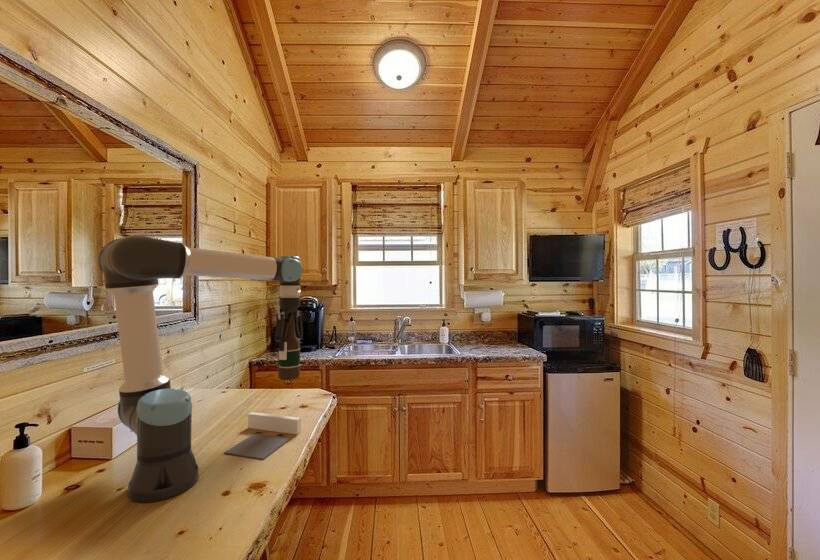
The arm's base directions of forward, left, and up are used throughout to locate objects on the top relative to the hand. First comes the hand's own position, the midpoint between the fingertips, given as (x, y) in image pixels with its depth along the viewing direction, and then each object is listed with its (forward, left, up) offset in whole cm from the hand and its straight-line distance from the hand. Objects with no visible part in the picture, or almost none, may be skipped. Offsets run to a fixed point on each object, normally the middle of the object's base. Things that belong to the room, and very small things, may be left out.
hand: (289, 357), depth 136 cm
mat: (-21, -3, -24) cm, 32 cm away
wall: (-9, 0, -24) cm, 26 cm away
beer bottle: (0, 0, -8) cm, 8 cm away
